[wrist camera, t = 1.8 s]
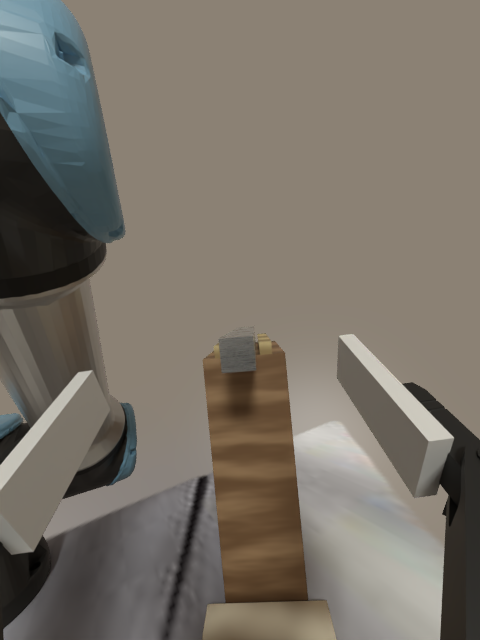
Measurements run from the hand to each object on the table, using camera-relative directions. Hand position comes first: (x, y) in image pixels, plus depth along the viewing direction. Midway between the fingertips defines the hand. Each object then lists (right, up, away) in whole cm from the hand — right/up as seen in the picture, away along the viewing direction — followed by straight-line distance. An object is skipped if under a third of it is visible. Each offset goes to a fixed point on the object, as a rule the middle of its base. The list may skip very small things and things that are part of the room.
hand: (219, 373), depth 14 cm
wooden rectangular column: (+5, -31, +26) cm, 41 cm away
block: (+2, -1, +20) cm, 21 cm away
